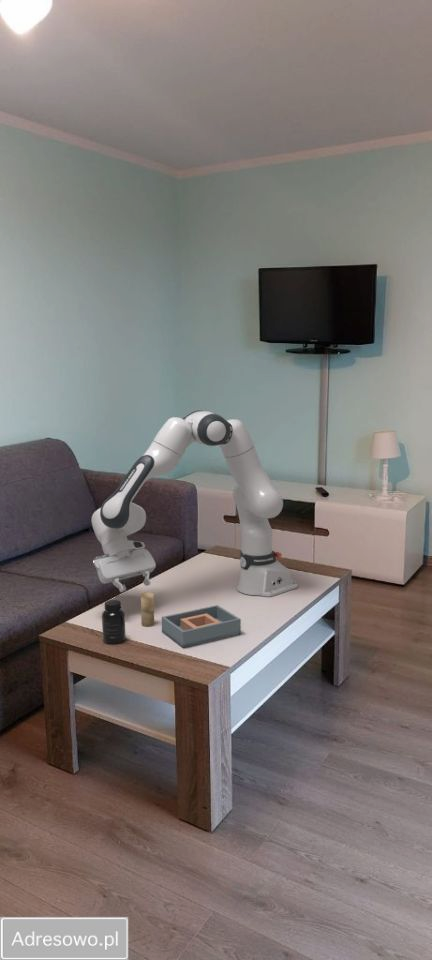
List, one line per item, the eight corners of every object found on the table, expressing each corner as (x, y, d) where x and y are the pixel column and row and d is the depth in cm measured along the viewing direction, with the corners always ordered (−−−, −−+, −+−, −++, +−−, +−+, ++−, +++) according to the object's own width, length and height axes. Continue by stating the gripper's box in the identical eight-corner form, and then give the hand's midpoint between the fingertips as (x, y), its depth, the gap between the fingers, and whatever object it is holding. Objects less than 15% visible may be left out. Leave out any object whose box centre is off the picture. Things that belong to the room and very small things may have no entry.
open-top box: (217, 619, 234) (217, 604, 233) (240, 634, 222) (240, 619, 221) (161, 632, 224) (161, 616, 223) (182, 648, 213) (182, 632, 212)
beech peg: (150, 621, 233) (150, 591, 231) (156, 625, 230) (155, 595, 228) (139, 623, 231) (138, 593, 230) (144, 627, 228) (144, 597, 226)
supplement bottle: (105, 635, 222) (103, 598, 220) (127, 635, 222) (126, 598, 220) (100, 644, 215) (99, 606, 213) (123, 644, 215) (122, 606, 213)
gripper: (94, 552, 230) (112, 589, 225) (147, 541, 243) (165, 576, 238) (87, 563, 234) (104, 599, 229) (140, 551, 247) (157, 585, 242)
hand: (136, 587), depth 233 cm, fingers open, 8 cm apart
